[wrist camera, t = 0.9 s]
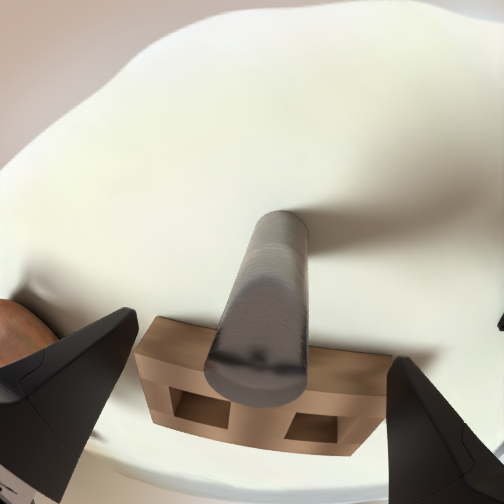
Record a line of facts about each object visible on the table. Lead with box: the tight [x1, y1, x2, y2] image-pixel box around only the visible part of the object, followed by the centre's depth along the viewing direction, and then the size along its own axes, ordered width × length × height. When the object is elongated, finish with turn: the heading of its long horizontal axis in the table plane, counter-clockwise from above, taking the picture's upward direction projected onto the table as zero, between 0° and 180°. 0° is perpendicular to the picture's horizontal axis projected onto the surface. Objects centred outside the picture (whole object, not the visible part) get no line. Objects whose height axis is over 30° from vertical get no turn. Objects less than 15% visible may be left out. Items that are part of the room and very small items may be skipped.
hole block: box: [134, 316, 393, 456], centre depth 21 cm, size 18×10×4 cm, turn 84°
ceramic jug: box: [0, 299, 59, 367], centre depth 21 cm, size 18×14×14 cm
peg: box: [203, 211, 309, 408], centre depth 12 cm, size 3×3×10 cm
